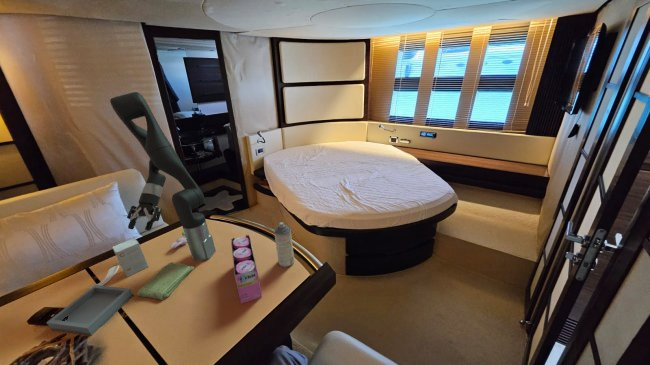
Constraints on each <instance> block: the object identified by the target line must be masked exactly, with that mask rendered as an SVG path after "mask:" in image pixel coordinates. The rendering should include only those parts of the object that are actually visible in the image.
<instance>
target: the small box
mask: <svg viewBox="0 0 650 365" xmlns="http://www.w3.org/2000/svg"><path fill="white" fill-rule="evenodd" d="M111 248H112V250H113V253H114V254H115V256H116V259H117V260H118V262H119V265H120V267H121V269H122V271H123V272H124V274H125V276H126V277H127V278H129V277H131V276H132V275H135V274H137V273H139V272H141V271H143V270H145V269H148V268H149V266H150V265H149V264H148V262H147V259H146V257H145V254H144V253H143V249H142V247H141V245H140V243H139V241H138V240H137V239H136V238H135V237H133V238H131V239H128V240H126V241H124V242H121V243H119V244H116V245H114V246H112V247H111Z"/></svg>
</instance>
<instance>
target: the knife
mask: <svg viewBox="0 0 650 365" xmlns="http://www.w3.org/2000/svg"><path fill="white" fill-rule="evenodd" d="M120 267H121V265H120V264H118V265H113V266H112V267H110V268H109V269H108V270H107V273H106V276H105V277H104V279H102V280H101V281H100V282H99V283H97V284H96V285H100V286H105V284H107V283H108V282H109V281H110V280H112V279H113V277H114V276H115V274H116V273H117V272H118V270H119V268H120ZM91 287H92V286H90V287H89V288H88V290H89V289H90V288H91Z"/></svg>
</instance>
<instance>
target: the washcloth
mask: <svg viewBox="0 0 650 365" xmlns="http://www.w3.org/2000/svg"><path fill="white" fill-rule="evenodd" d="M194 268H195V267H194V266H193V265H187V264H183V263H181V262H180V263H179V262H178V263H176V262H173V261H172V262H168V263H167V264H166V265H164V266H163V267H162V268H161V269H159V271H158V272H156V273H155V274H154V275H153V276H152V277H151V278H150V279H149V280H148V281H146V282H145V283H144V285H142V286H141V287H140V289H139V290H138V291H137V294H136V295H137V297H142V298H153V299H155V300H161V301H162V300H166V299H167V298H168V297H170V295H171V294H172V293H173V292H174V291H175V290H176V288H178V286H180V284H181V283H182V282H181V281H184V280H185V278H186V277H187V276H188V275H189V274H190V273H191V272H192V271H193V270H194Z"/></svg>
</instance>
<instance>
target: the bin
mask: <svg viewBox="0 0 650 365" xmlns="http://www.w3.org/2000/svg"><path fill="white" fill-rule="evenodd" d="M90 287H91V288H90ZM90 287H89V288H90V289H89V288H88V290H87V291H85V292H83V293H82V294H81V295H79V297H77V298H76V299H75V300H74V301H72V302H71V303H69V304H68V305H67V306H66V307H64V309H62V310H60V311H59V312H58V313H57V314H55V315H54V316H53V317H52V318H50V319H49V320H47V322H46V325H47V326H48V327H49V328H50V331H57V332H64V333H71V334H77V335H78V334H79V335H85V336H93V335H94V334H95V333H96V332H97V331H98V330H99V329H100V328H101V327H102V326H103V325H104V324H105V323H107V322H108V321H109V320H110V318H112V317H113V316H114V315H115V314H116V313H117V312H118V311H119V310H120V309H121V308H122V307H123V306H124V305H125V304H126V303H127V302H129V301H130V300H131V298H133V297H134V292H133V291H132V289H131V288H128V287H126V288H125V287H118V286H111V285H110V286H107V285H103V286H100V285H97V284H94V285H93V286H90ZM67 316H68V319H67V320H65V321H62V320H63V319H64V318H65V317H67Z"/></svg>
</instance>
